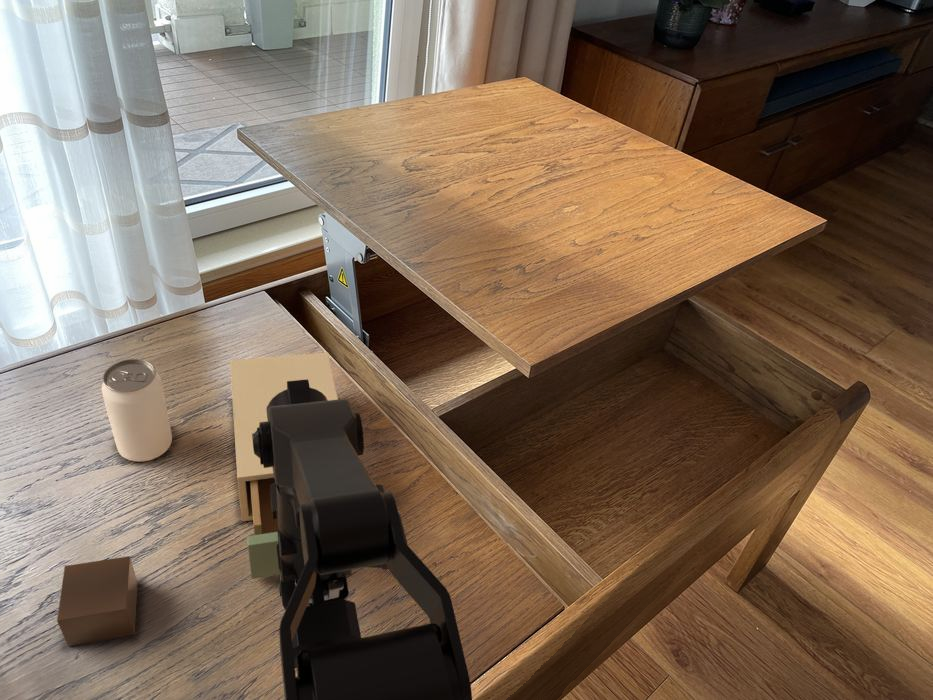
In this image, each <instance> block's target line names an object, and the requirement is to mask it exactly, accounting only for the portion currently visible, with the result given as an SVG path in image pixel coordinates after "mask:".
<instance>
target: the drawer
mask: <svg viewBox="0 0 933 700" xmlns="http://www.w3.org/2000/svg"><path fill="white" fill-rule="evenodd" d="M274 482H275V479H274V478H267V479H259V480H251V481H250V486H251V499H252V512H253V520H252V522H253V523H252V524H253V535H248V536H247V538H246V539H247V550H248V560H249V561H248V562H249V568H250V569H249V571H250V577H251V578H250V579H251V580H254V579H259V578H265V577H270V576H271V577H272V576H276V575H279V580H280V581H278V592H279V597H280V598H282V596H281V586H280V582H281V581H282V572H281V571H280V569H279V567H278V557H277V544H278V530H279V529H278V521H277V519H273V515H272V506H271V495H270V485H271V484H273V483H274Z"/></svg>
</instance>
